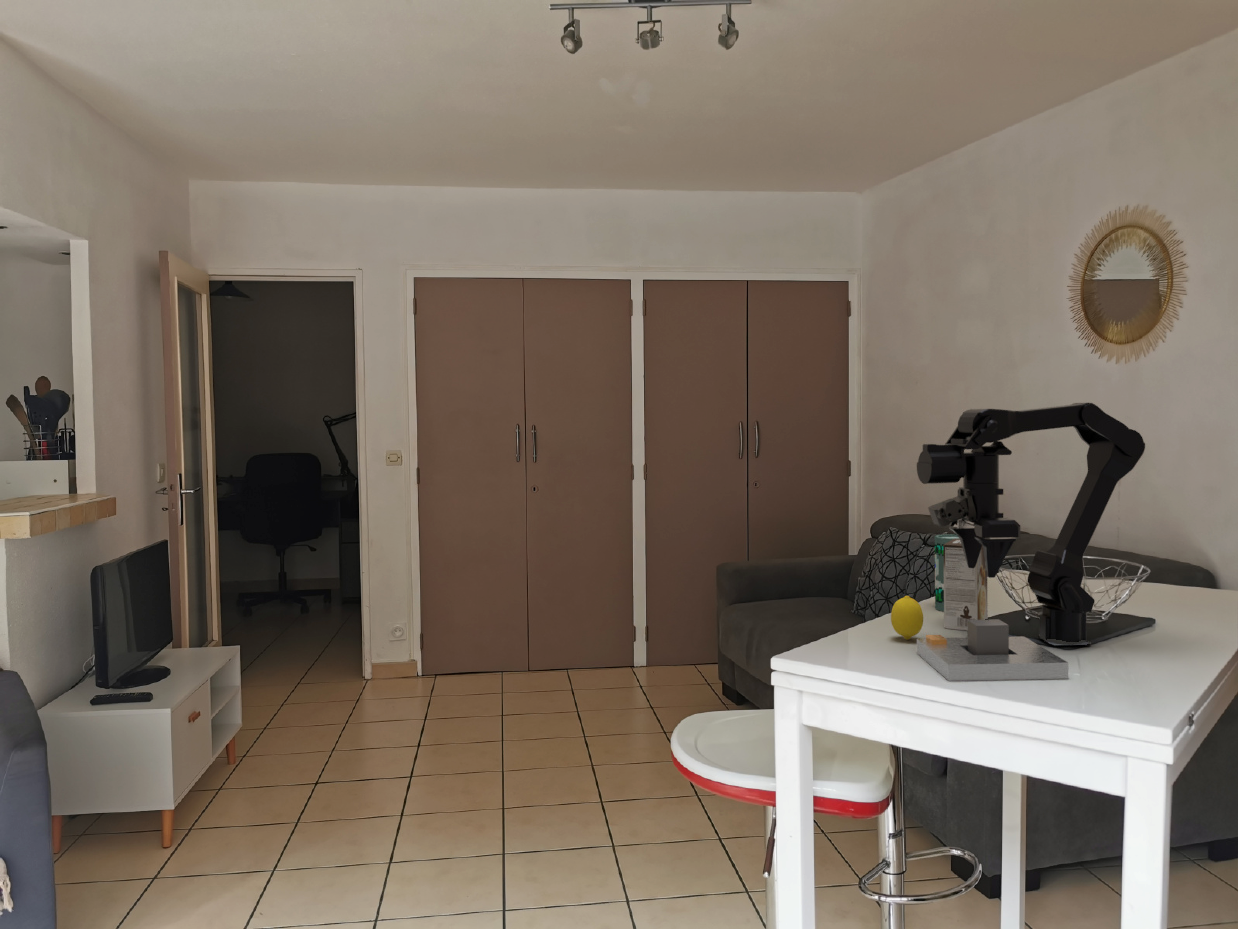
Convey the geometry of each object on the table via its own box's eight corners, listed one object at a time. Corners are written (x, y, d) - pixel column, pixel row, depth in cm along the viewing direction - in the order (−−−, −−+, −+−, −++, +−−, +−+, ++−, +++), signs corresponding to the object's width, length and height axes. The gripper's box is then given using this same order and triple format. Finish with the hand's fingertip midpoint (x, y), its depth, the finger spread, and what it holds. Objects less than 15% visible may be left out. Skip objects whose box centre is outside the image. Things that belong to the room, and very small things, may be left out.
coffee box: (953, 618, 178) (953, 537, 177) (988, 621, 175) (988, 539, 174) (943, 628, 171) (942, 543, 170) (979, 632, 167) (978, 545, 166)
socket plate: (1023, 651, 154) (1023, 631, 154) (1068, 678, 138) (1068, 657, 138) (916, 653, 154) (916, 633, 154) (948, 681, 138) (948, 659, 138)
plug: (998, 661, 148) (998, 619, 148) (1008, 668, 144) (1008, 625, 144) (967, 662, 148) (967, 620, 148) (976, 669, 144) (976, 625, 144)
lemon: (925, 644, 160) (925, 599, 159) (892, 643, 161) (892, 598, 161) (921, 636, 165) (921, 592, 165) (889, 635, 166) (889, 592, 166)
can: (941, 604, 191) (940, 533, 190) (971, 607, 187) (970, 535, 187) (932, 610, 186) (931, 537, 185) (962, 613, 182) (962, 539, 182)
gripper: (916, 479, 165) (917, 564, 166) (951, 487, 146) (952, 583, 147) (978, 477, 164) (979, 563, 165) (1021, 486, 146) (1021, 582, 147)
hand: (981, 572), depth 156 cm, fingers open, 9 cm apart
